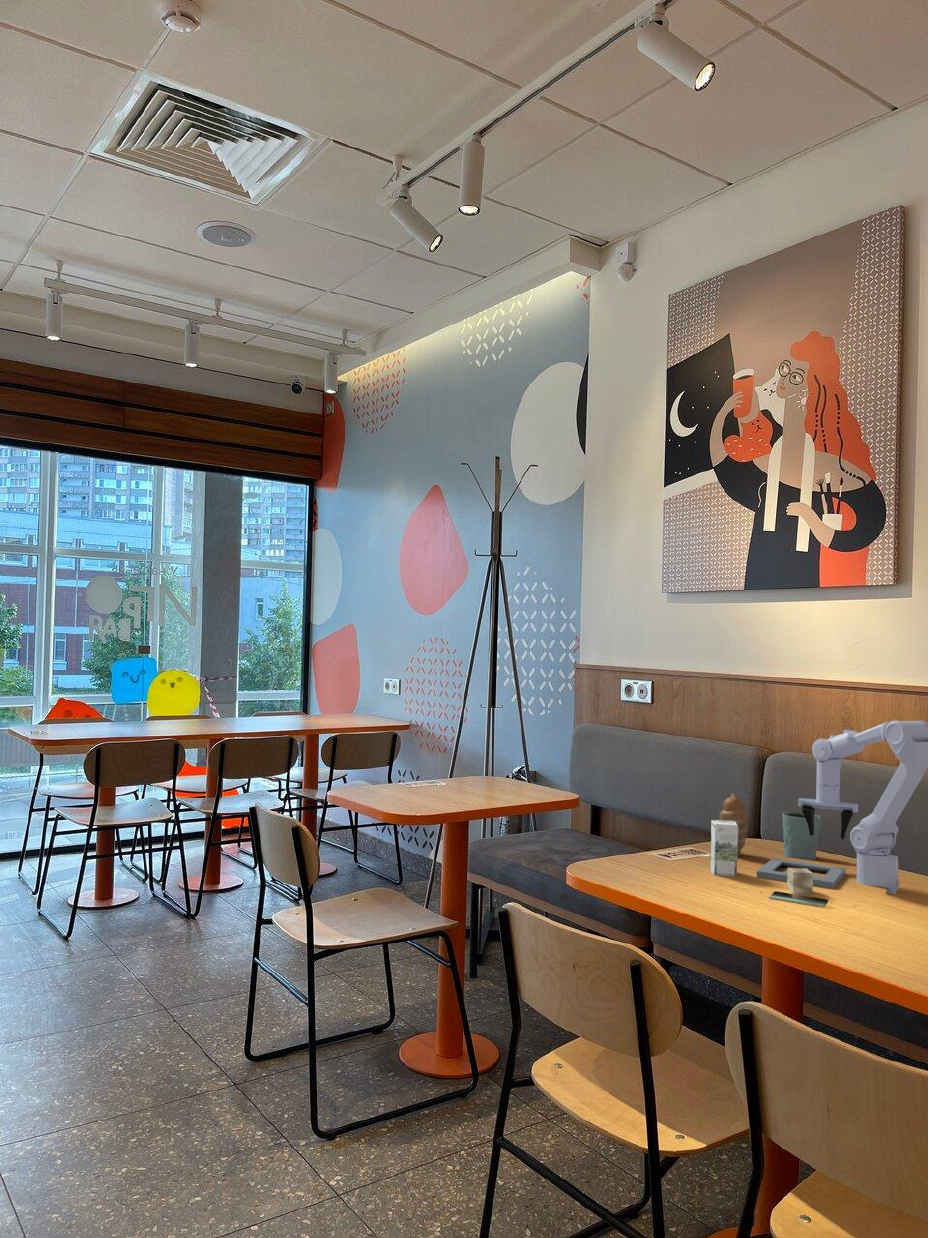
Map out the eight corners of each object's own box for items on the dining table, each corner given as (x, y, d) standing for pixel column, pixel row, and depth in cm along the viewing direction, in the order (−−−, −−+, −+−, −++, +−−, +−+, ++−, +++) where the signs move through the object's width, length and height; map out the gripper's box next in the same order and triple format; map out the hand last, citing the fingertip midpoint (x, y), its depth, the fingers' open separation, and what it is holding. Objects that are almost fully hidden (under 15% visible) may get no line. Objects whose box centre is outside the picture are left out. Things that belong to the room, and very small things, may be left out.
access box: (845, 880, 233) (845, 868, 233) (833, 895, 217) (833, 882, 217) (772, 869, 242) (773, 858, 242) (756, 883, 227) (756, 871, 227)
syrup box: (732, 876, 233) (733, 820, 233) (737, 882, 227) (738, 824, 227) (709, 875, 233) (710, 818, 234) (713, 881, 227) (715, 823, 228)
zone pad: (830, 897, 215) (830, 896, 215) (823, 907, 206) (823, 905, 206) (778, 889, 221) (778, 888, 221) (769, 898, 213) (769, 896, 213)
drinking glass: (775, 853, 262) (775, 811, 263) (807, 853, 264) (807, 811, 265) (793, 861, 253) (794, 818, 253) (827, 861, 254) (827, 818, 255)
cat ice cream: (751, 863, 248) (752, 797, 249) (722, 862, 248) (723, 796, 249) (742, 856, 257) (743, 792, 258) (714, 855, 257) (715, 791, 258)
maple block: (806, 894, 216) (806, 868, 216) (812, 899, 212) (812, 873, 212) (787, 893, 216) (787, 867, 217) (792, 898, 212) (793, 872, 212)
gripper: (860, 786, 238) (859, 838, 238) (802, 780, 246) (801, 830, 245) (856, 789, 232) (855, 842, 232) (796, 783, 240) (796, 835, 239)
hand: (827, 836), depth 238 cm, fingers open, 7 cm apart
